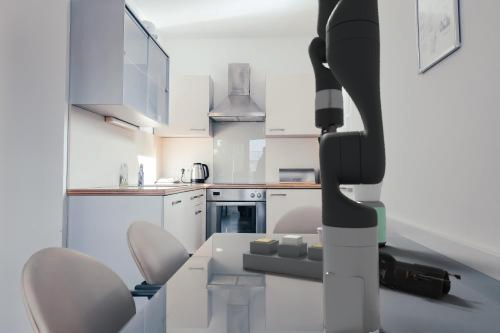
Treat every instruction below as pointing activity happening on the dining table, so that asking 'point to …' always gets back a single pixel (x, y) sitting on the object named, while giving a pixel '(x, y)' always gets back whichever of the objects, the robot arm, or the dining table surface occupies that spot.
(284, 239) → the white square block
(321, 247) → the brass metal cube
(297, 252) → the console
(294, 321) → the dining table surface
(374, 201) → the juicer
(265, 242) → the gold square block
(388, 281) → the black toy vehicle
